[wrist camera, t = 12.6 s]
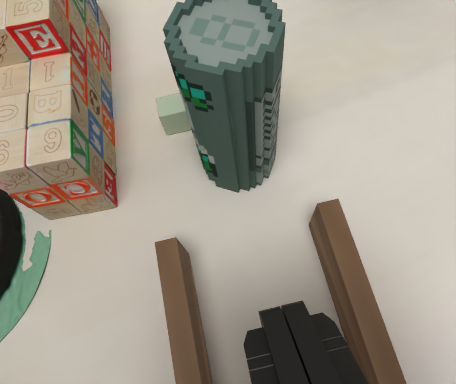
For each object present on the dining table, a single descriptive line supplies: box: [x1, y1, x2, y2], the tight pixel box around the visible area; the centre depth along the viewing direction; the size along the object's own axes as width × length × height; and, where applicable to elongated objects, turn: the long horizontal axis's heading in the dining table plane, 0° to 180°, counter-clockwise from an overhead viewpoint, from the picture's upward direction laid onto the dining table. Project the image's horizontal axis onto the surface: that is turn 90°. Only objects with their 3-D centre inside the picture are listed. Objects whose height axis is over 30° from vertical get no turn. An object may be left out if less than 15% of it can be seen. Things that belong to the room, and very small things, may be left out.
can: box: [163, 0, 285, 193], centre depth 27 cm, size 6×6×15 cm
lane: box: [155, 199, 406, 384], centre depth 24 cm, size 13×20×5 cm, turn 13°
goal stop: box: [156, 93, 192, 135], centre depth 34 cm, size 10×2×3 cm, turn 103°
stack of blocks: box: [0, 0, 117, 220], centre depth 31 cm, size 21×6×12 cm, turn 10°
